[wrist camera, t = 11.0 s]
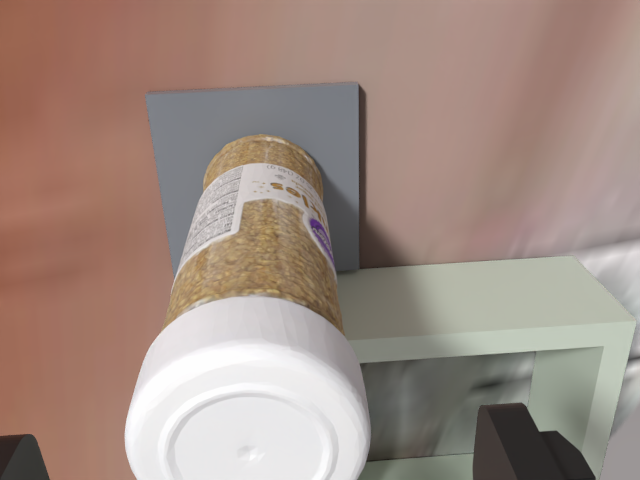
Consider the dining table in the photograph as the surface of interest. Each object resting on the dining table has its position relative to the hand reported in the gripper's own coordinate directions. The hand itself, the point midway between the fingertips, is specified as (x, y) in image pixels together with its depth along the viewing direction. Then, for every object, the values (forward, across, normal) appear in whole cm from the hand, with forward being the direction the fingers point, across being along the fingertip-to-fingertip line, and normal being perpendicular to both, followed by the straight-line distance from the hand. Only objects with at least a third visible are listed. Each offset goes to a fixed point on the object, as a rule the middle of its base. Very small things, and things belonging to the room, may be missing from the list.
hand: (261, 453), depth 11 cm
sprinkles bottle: (+14, 0, 0) cm, 14 cm away
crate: (+14, -6, +10) cm, 18 cm away
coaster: (+14, 0, 0) cm, 14 cm away
